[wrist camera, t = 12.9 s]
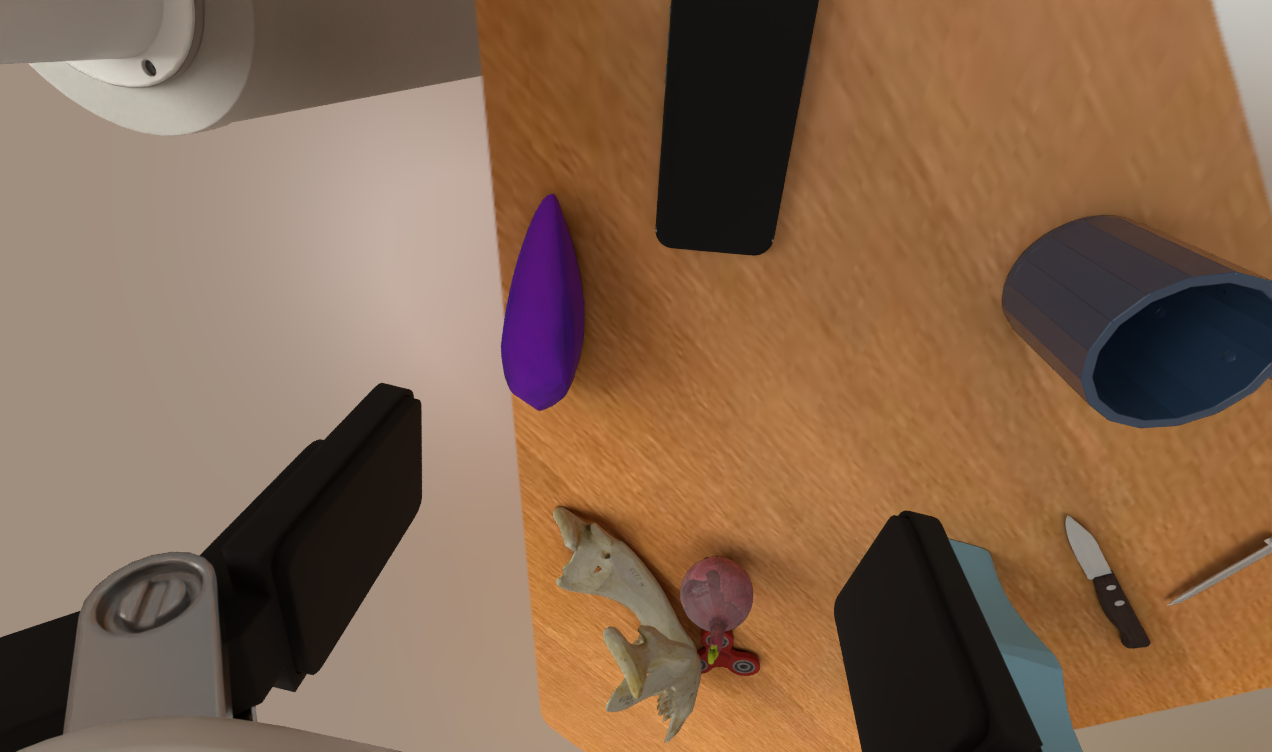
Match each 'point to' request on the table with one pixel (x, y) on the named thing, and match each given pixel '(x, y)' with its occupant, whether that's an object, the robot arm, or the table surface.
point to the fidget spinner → (728, 657)
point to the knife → (1226, 572)
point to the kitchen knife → (1106, 586)
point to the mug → (1142, 320)
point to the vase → (1021, 652)
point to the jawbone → (661, 633)
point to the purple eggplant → (544, 312)
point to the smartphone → (729, 120)
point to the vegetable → (716, 598)
